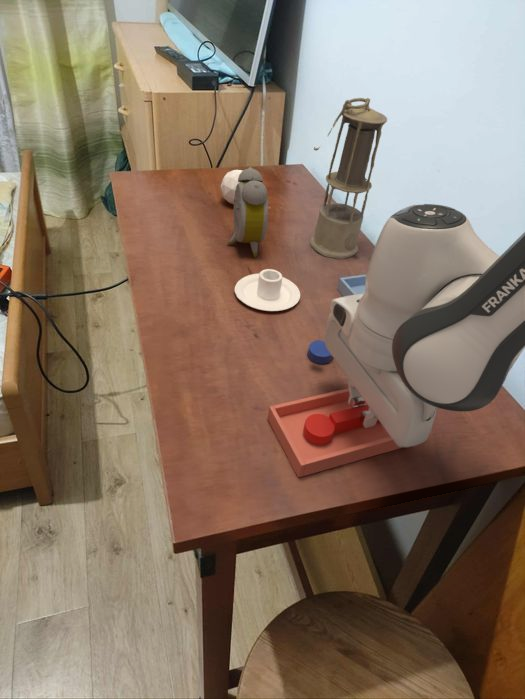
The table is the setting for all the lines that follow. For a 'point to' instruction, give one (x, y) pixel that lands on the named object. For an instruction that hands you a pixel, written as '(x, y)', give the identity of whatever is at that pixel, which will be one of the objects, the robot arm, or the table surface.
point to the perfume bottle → (230, 185)
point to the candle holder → (267, 291)
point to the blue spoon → (319, 352)
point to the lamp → (348, 181)
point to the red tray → (341, 446)
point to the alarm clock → (250, 210)
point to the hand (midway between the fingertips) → (360, 414)
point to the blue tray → (352, 285)
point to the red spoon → (332, 424)
